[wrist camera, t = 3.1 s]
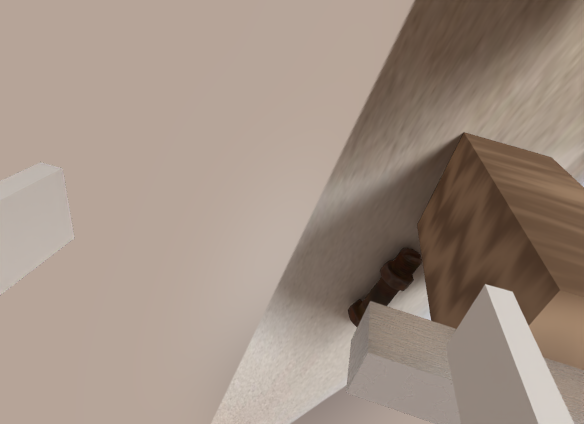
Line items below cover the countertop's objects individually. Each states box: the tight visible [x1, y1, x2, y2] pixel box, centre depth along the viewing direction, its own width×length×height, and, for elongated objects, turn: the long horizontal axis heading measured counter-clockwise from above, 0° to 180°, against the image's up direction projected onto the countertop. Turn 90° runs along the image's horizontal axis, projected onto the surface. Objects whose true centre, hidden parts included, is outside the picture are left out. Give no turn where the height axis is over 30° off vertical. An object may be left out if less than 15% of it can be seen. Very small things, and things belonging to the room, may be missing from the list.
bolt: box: [348, 248, 422, 327], centre depth 55 cm, size 6×5×15 cm
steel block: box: [346, 301, 584, 424], centre depth 22 cm, size 7×20×4 cm, turn 77°
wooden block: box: [417, 133, 584, 370], centre depth 35 cm, size 14×10×28 cm
